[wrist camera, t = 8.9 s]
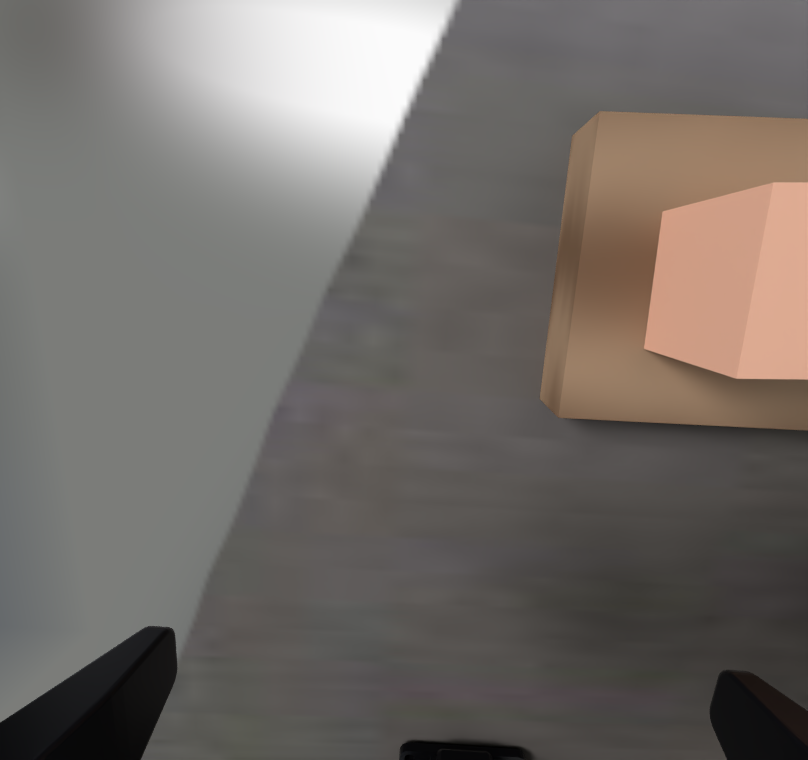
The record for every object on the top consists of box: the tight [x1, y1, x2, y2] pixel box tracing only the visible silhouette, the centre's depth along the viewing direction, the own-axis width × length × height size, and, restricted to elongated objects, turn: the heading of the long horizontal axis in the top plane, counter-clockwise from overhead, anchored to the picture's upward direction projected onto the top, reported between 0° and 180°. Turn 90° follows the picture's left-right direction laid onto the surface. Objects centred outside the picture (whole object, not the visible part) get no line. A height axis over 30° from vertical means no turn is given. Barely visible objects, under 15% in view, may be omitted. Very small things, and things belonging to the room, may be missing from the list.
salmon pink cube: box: [644, 182, 808, 380], centre depth 12 cm, size 4×4×4 cm
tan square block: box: [540, 111, 808, 430], centre depth 16 cm, size 10×10×3 cm
